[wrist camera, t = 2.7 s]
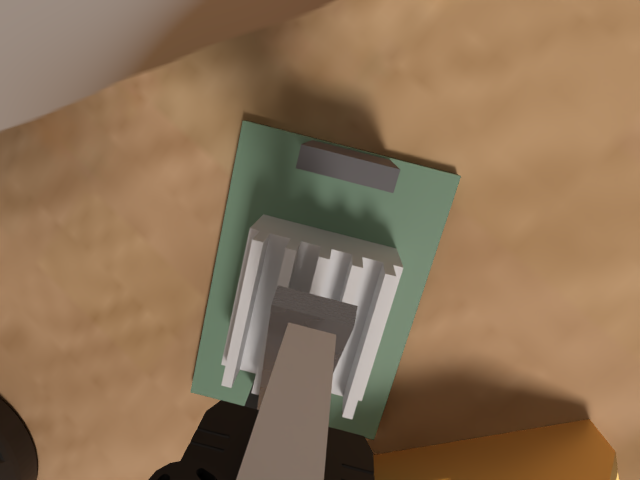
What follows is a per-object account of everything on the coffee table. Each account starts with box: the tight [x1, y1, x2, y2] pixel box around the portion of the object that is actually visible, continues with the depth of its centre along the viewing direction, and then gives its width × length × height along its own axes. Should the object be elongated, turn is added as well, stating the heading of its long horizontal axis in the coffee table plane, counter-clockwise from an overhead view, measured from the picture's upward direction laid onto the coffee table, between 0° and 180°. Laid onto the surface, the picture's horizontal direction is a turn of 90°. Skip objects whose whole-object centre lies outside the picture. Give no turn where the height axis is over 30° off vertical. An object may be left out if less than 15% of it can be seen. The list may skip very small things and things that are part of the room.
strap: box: [257, 285, 358, 410], centre depth 20 cm, size 15×4×1 cm
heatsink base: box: [191, 121, 461, 440], centre depth 28 cm, size 20×14×8 cm
